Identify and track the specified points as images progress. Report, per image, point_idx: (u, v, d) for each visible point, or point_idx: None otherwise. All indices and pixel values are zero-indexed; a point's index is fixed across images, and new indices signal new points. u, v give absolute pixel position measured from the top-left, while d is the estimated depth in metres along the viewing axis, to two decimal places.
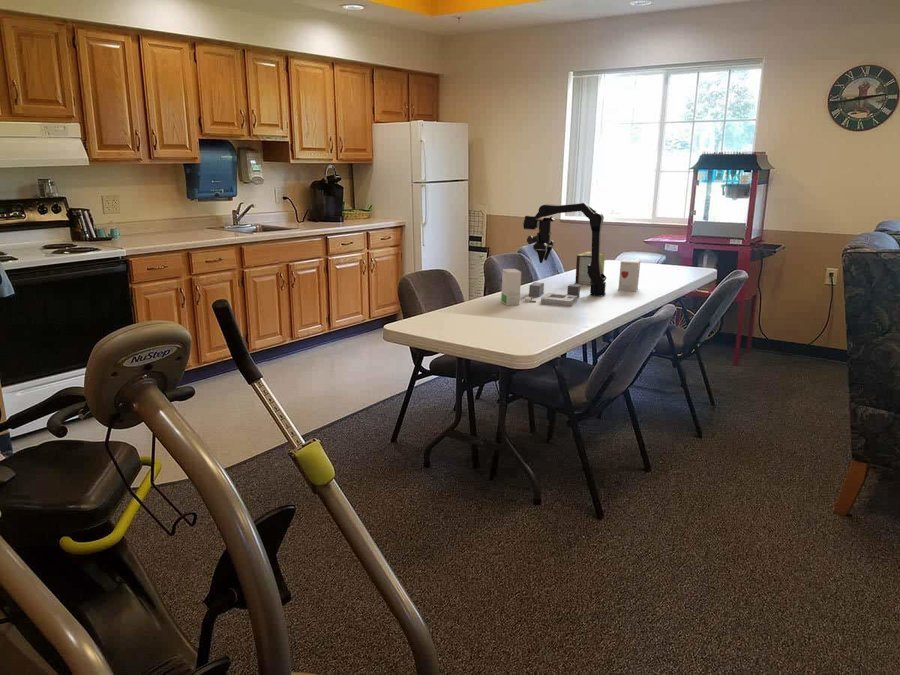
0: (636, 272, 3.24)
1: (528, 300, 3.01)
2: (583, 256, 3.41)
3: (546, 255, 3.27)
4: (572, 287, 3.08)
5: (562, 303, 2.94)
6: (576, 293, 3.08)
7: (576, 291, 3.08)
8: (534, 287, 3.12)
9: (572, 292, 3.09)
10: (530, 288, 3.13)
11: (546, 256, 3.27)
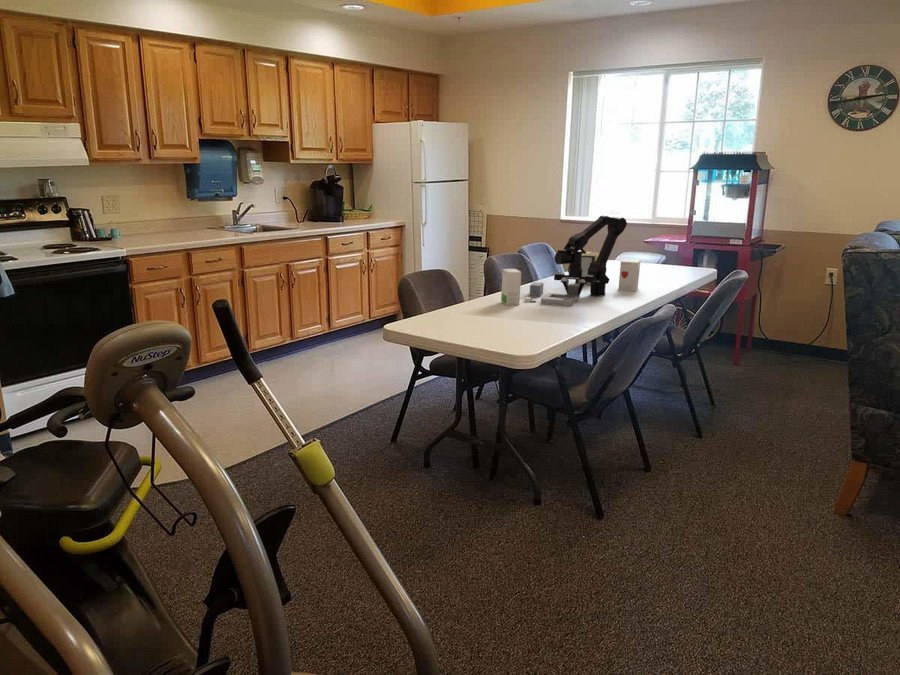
0: (636, 272, 3.24)
1: (528, 300, 3.01)
2: (583, 256, 3.41)
3: (579, 290, 3.09)
4: (572, 287, 3.08)
5: (562, 303, 2.94)
6: (576, 293, 3.08)
7: (576, 291, 3.08)
8: (535, 287, 3.12)
9: (572, 292, 3.09)
10: (531, 288, 3.12)
11: None
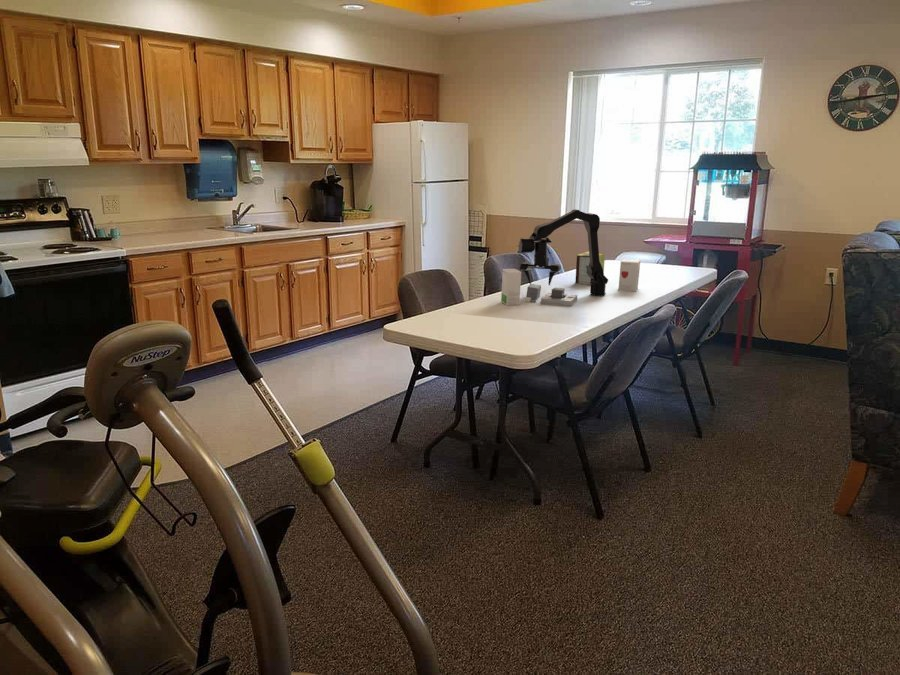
0: (636, 272, 3.24)
1: (528, 300, 3.01)
2: (583, 256, 3.41)
3: None
4: (556, 291, 2.99)
5: (562, 303, 2.94)
6: (560, 297, 2.99)
7: (560, 295, 2.99)
8: (532, 289, 3.05)
9: (556, 296, 3.00)
10: (528, 290, 3.05)
11: None
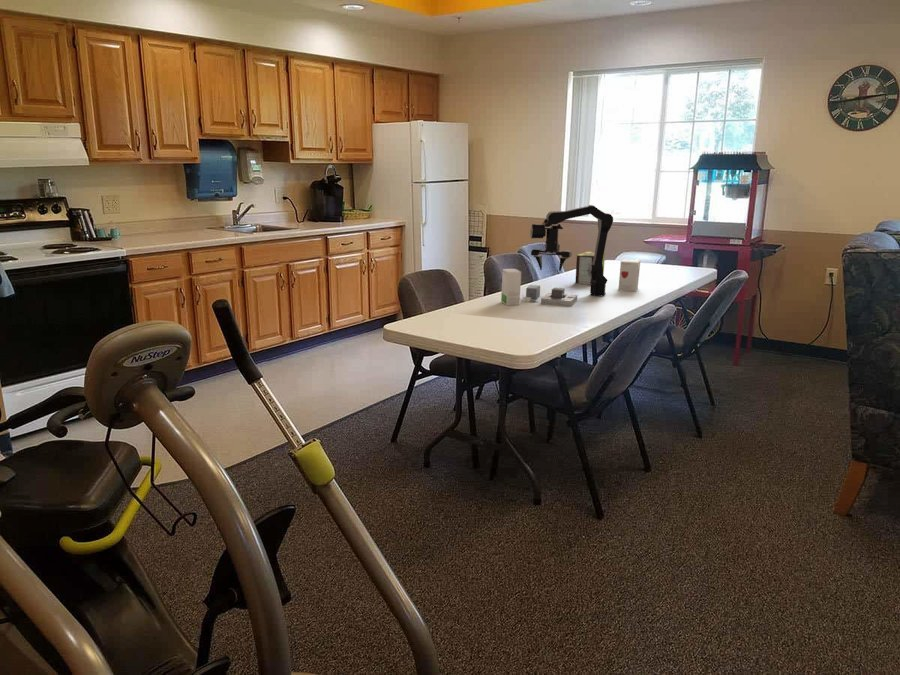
0: (636, 272, 3.24)
1: (528, 300, 3.01)
2: (583, 256, 3.41)
3: None
4: (556, 291, 2.99)
5: (562, 303, 2.94)
6: (560, 297, 2.99)
7: (560, 295, 2.99)
8: (531, 290, 3.05)
9: (556, 296, 3.00)
10: (527, 291, 3.06)
11: None
